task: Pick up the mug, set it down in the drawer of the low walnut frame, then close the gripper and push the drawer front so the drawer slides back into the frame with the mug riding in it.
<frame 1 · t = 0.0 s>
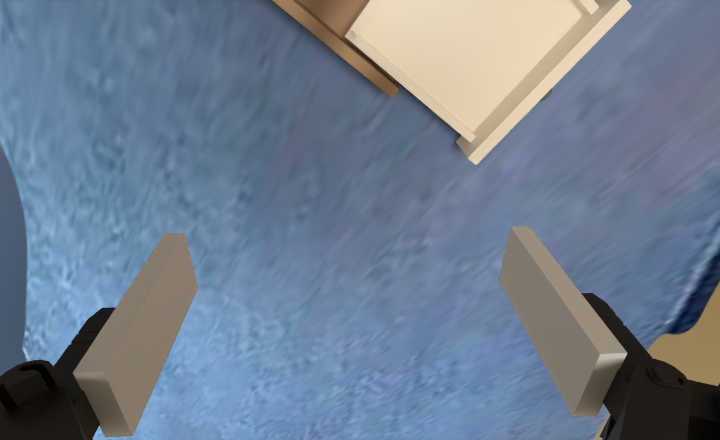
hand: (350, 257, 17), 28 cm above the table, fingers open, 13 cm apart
drawer: (478, 29, 36), point 3 cm above the table, slide at 9.0 cm
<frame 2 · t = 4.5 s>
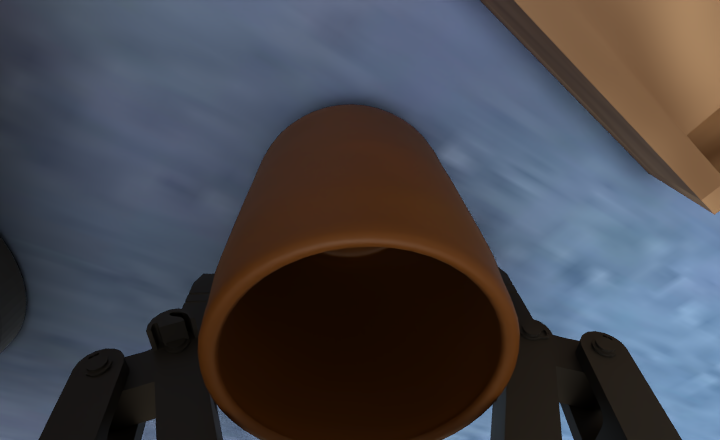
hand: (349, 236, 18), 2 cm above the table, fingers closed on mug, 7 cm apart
mug: (336, 228, 19), point 2 cm above the table, touching gripper
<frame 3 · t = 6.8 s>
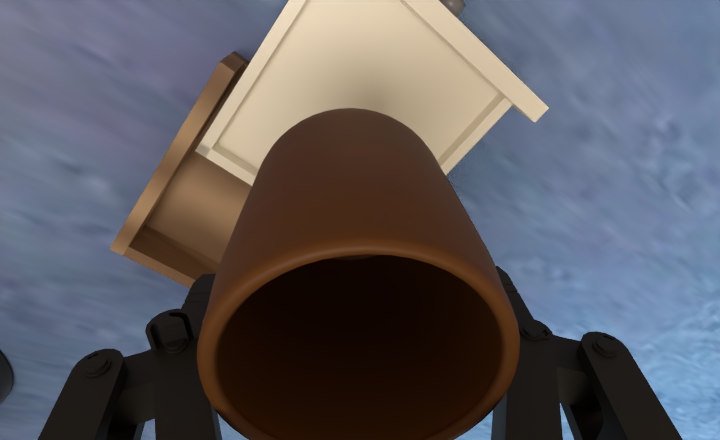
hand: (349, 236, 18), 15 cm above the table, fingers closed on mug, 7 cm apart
mug: (336, 231, 19), point 15 cm above the table, touching gripper
frame: (285, 200, 34), on the table
drawer: (362, 113, 28), point 3 cm above the table, slide at 9.0 cm
when the fingers open (3 cm above the table, at t = 9.1 s): mug stays where it is, resting on drawer.
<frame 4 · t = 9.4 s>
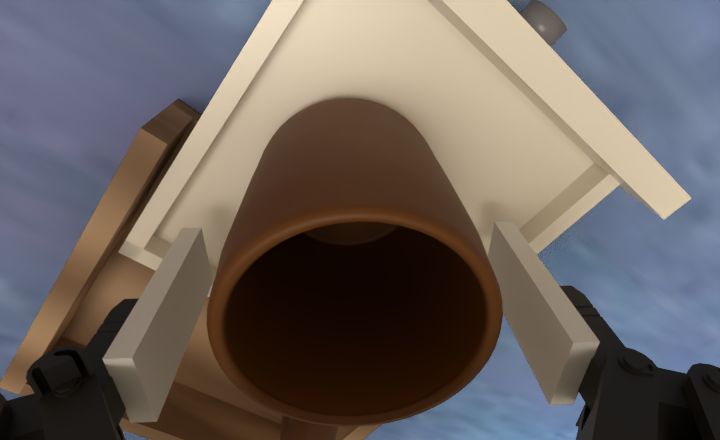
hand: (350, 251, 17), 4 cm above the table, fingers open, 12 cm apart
mug: (335, 218, 19), point 2 cm above the table, touching drawer
frame: (264, 300, 24), on the table
drawer: (381, 195, 18), point 3 cm above the table, slide at 9.1 cm, touching mug
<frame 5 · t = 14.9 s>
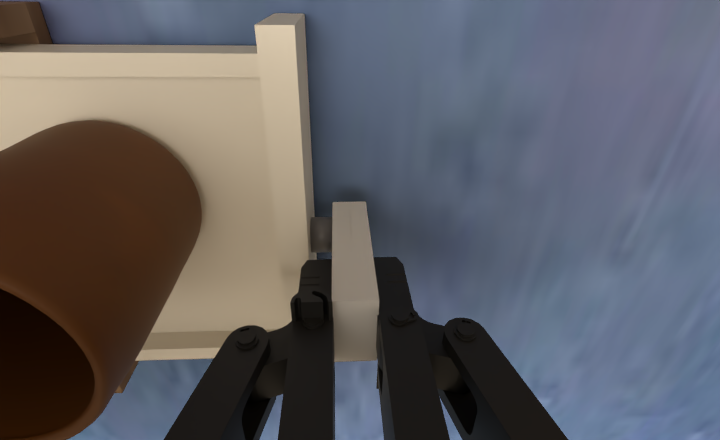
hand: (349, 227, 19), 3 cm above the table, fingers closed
mug: (82, 212, 19), point 2 cm above the table, touching drawer
drawer: (133, 233, 19), point 3 cm above the table, slide at 8.8 cm, touching gripper, mug
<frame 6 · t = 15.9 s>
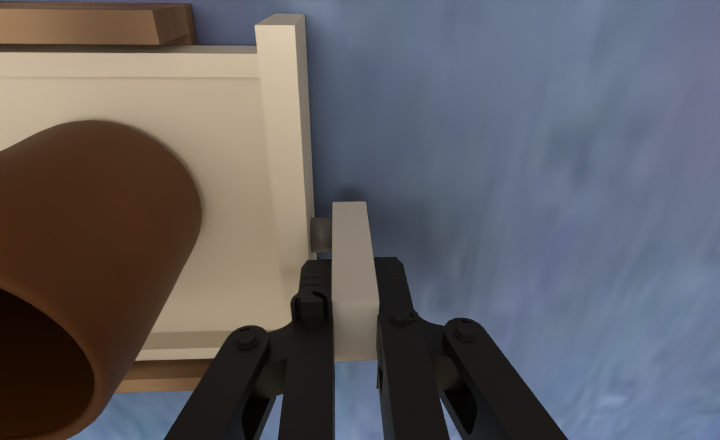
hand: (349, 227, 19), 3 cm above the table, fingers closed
mug: (82, 212, 19), point 2 cm above the table, touching drawer
frame: (71, 206, 21), on the table
drawer: (133, 233, 19), point 3 cm above the table, slide at 3.0 cm, touching gripper, mug
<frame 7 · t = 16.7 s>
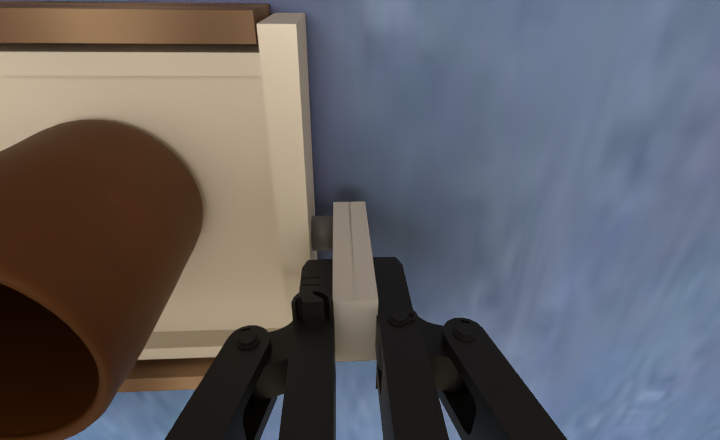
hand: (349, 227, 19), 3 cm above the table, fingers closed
mug: (83, 212, 19), point 2 cm above the table, touching drawer
frame: (135, 205, 21), on the table
drawer: (134, 232, 19), point 3 cm above the table, slide at -0.1 cm, touching gripper, mug
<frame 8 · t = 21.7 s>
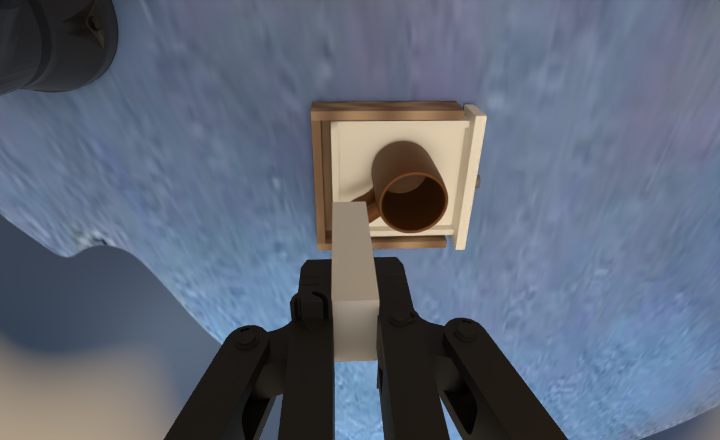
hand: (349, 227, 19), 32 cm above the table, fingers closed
mug: (384, 174, 51), point 2 cm above the table, touching drawer
frame: (388, 172, 53), on the table
drawer: (405, 181, 51), point 3 cm above the table, slide at 0.7 cm, touching mug
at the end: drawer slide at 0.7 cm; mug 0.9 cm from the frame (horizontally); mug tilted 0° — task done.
